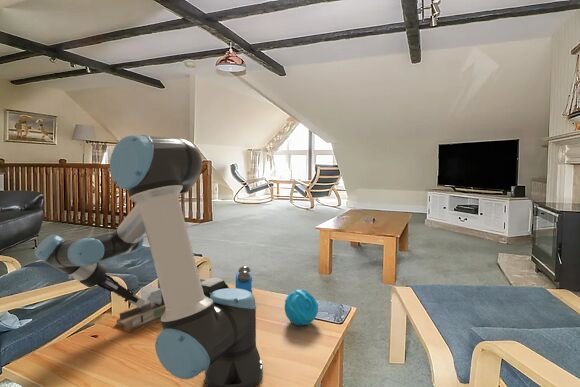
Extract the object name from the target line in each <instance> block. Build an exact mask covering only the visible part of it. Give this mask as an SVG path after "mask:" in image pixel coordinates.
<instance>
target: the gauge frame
mask: <svg viewBox="0 0 580 387" xmlns="http://www.w3.org/2000/svg"><path fill="white" fill-rule="evenodd" d="M157 288H160V284H159V280H158V279H157ZM160 289H161V288H160ZM161 299H162V306H160V307H158V308H155V309H152V310H150V311H147V312H144V313H143V312H142V308H139V307H137V306H136V307H134V308H131V309H127V310H126V311H123V312H120V313H119V318H118V319H116V325H118V326H119V327H121V328H122V329H124V330H125V331H127V332H129V333H133V332H136V331H139V330H140V329H143V328H146V327H148V326H150V325H153V324H156V323H158V322H161V317H162V315H163V314H164V312H165V309H166V307H165V304H164V300H163V296H162V292H161Z"/></svg>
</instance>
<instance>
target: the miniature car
mask: <svg viewBox="0 0 580 387" xmlns="http://www.w3.org/2000/svg"><path fill="white" fill-rule="evenodd" d="M201 285H202V289H203V292H204V295H205V296H206V297H208V298H210V295H211V293H212V292H214V291H216V290H219V289H226V288H230V287H229V286H228V284H227V283H226V282H225V280H224V279H223V278H220V277H210V278H207V279H205V280H203V281H201Z"/></svg>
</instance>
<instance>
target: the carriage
mask: <svg viewBox="0 0 580 387" xmlns="http://www.w3.org/2000/svg"><path fill="white" fill-rule="evenodd" d="M140 298H141V299H142V300H144V301H145V302H144V304H143V305H142V307H141V308H142V312H143V313H144V312H147V311H150V310H152V309H155V308H158V307H160V306H162V299H161V289H160V288H158V286H154V285H152V284H148V285H145V286H143V287H140Z"/></svg>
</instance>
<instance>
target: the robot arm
mask: <svg viewBox="0 0 580 387" xmlns="http://www.w3.org/2000/svg"><path fill="white" fill-rule="evenodd" d="M112 150H113V151H112V152H111V156H110V159H109V172H110V177H111V179H112V182H113V183H114V184H115V185H116V187H118V188H120V189H123V190H125V191H126V190H127V193H128V198H129V200H131V202H134V203H135V205H134V207H133V208H131V210H130V212H129V213H128V214H127V215H126V217H124V219H123V220H122V221H121V223H120V224H119V225H118V227H116V229H115V230H114V231H113V232H107V233H103V234H99V235H94V236H87V237H82V238H79V239H74V240H73V239H72V240H69V239H68V240H65V239H64V237H60V236H59V235H57V234H51V235H48V236H47V237H45V238H44V239H43V240H42V241H41V242H40V243H39V244H38V245H37V247H36V248H35V250H34V256H35V257H36V258H38V259H39V260H40V261H42V262H43V263H44V264H47V265H49V266H51V267H53V268H54V269H56V270H58V271H60V272H61V273H64V274H65V275H67V276H68V279H69V280H72V279H74V280H76V281H77V282H79V283H80V284H82V285H84V286H86V287H88V288H93V287H96V286H98V287H100V288H102V289H104V290H107V291H109V292H110V293H111V292H112V293H114V294H115V295H117V296H118V297H121V298H122V299H124V300H123V301H124V302H125V303H127V302H129V303H131V304H132V305H134V306H136V307H139V308H141V307H142V305H143V304H144V302H145V301H144V300H142V299H141V297H139V296H138V295H136V294H134V293H133V292H131V289H129V288H125V287H124V286H122V285H121V284H120V283H119V282H118V281H117V280H115V279H114V278H113V277H112V276H110V275H108V274H107V271H108V270H107V267H106V266H105V265H104V264H102V263H100V262H102V261H105V260H108V259H109V260H110V259H112V258H116V257H120V256H124V255H126V254H132V253H134V252H136V251H139V250H140V249H141V248H142V247H143V244H144V237H145V235H146V237H147V241H148V244H149V250H150V253H151V256H152V261H153V264H154V268H155V272H156V275H157V281H158V280H159V284H160V288H161V292H162V296H163V300H164V304H165V307H166V309H165V312H164V314H163V315H162V317H161V321H160V322H161V326H162V330H161V331H160V332H159V334H158V335H157V336H156V338H155V340H156V341H155V342H154V343H155V344H154V349H155V354H156V356H157V358H158V360H159V363H161V365H162V367H164V369H165V370H166V371H168V373H170V374H171V375H172V376H173V377H175V378H178V379H181V380H190V379H194V378H195V377H197V376H199V374H201V373H203V372H204V377H205V378H204V380H205V384H206V387H257V386H258V385H259V384H260V383H261V381H262V379H263V377H264V376H263V375H264V369H263V368H264V366H263V362H262V360H261V356H260V353H259V351H258V348H257V326H256V325H257V319H256V318H257V314H256V312H257V310H256V309H257V306H256V297H255V295H254V294H253V292H252V293H251V292H250V291H247V290H244V289H237V288H236V287H234V288H233V287H229V288H226V289H219V290H216V291H214V292H212V293H211V295H210V298H208V297H206V296H205V295H204V292H203V289H202V285H201V282H202V281H201V277H200V274H199V269H198V267H197V262H196V259H195V256H194V251H193V247H192V244H191V240H190V236H189V232H188V228H187V225H186V220H185V217H184V213H183V210H182V206H181V202H180V198H179V197H180V196H181V195H182V194H186V193H188V192H190V190H191V189H192V188H193V186H195V184H196V183H197V182H198V180H199V178H200V177H201V173H202V169H203V159H202V156H201V154H200V151H199V150H198V148H197V147H196V146H195V145H194V144H193V143H192V142H190V141H188V140H186V139H183V138H180V137H179V138H178V137H165V136H164V137H163V136H153V135H147V134H141V135H132V134H131V135H126V136H124V137H122V138H121V139H120V140H118V142H117V143H116V144H115V146H114V147H113V149H112Z"/></svg>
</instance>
